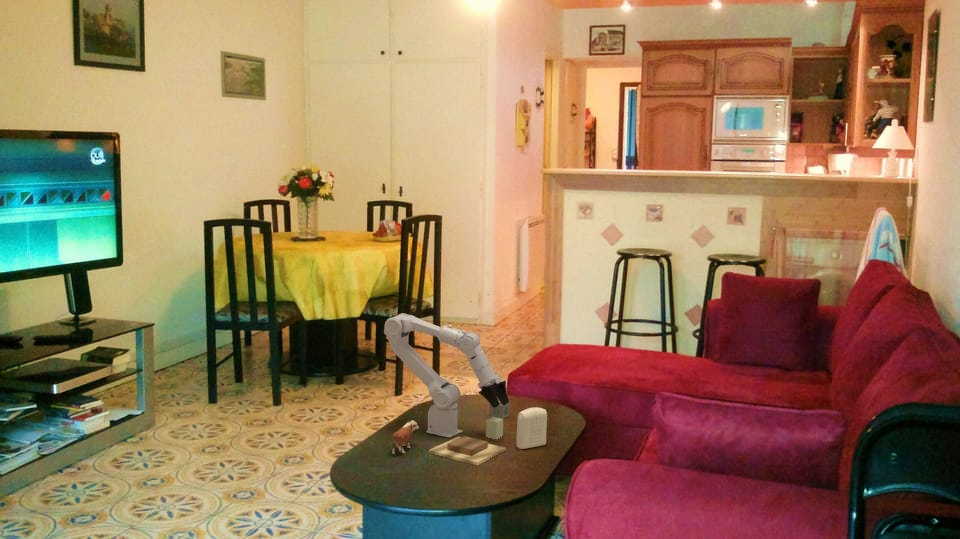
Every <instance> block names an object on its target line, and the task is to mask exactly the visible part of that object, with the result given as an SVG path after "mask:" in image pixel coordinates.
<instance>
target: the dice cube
mask: <svg viewBox="0 0 960 539" xmlns="http://www.w3.org/2000/svg"><path fill="white" fill-rule="evenodd" d="M498 401H499V406H497V407H495V408H493V407H492V405H491V404H490V403H489V404H490V408H489V410H490V411H489V412H490V413H489V416H490V417H489V418H492V417H495V418H500V419H503V420H504V418H505V419H507V418H509V417H511V414H510V413H511V402H509V403H507V404H506V405H504V406H503V405H502V403H501V402H500V400H499V399H498ZM506 417H507V418H506Z"/></svg>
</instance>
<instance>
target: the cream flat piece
mask: <svg viewBox="0 0 960 539" xmlns="http://www.w3.org/2000/svg"><path fill="white" fill-rule="evenodd" d="M504 451H505V452H506V451H507V447H504V446H500V445H495V444H491V443H489V441H487V440H482V439H479V438H475V437H474V438H473V437H469V436H466V435H463V436H457V437H454V438H452V439H450V440H447V441H446V442H443V443H442V444H439V445H437V446H434V447H432V448H430V449H429V450H428V454H430V453H431V455H434V454H435V456H438V455H439V457H442V456H443V458H446V457H447V459H451V460H453V461H458V462H462V463H465V464H470V465H474V466H479V465H482V464H483V463H485V462H487V461H489V460H491V459H493V458H494V456H495V457H497V456H499V455H500V454H499V453H501V454H503V453H505V452H504ZM502 452H503V453H502ZM498 454H499V455H498ZM496 455H497V456H496ZM492 457H493V458H492ZM490 458H491V459H490Z"/></svg>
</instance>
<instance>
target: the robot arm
mask: <svg viewBox="0 0 960 539" xmlns="http://www.w3.org/2000/svg"><path fill="white" fill-rule="evenodd" d="M414 331H416V332H419V333H422V334H426V335H429V336H432V337H435V338H437V339H438V342H440V343H442V344H445V345H448V346H450V347H454V348H457V349H458V350H459V351H460V352H461V353H463V354H464V355H465V356H466V359H467V361H468V363H469V365H470V367H471V368H472V370H473V372H474V374H475V376H476V378H477V380H478V382H479V383H477V386H478V388H479V389H480V391H478V394H479V395H481V397H484V399H485V400H486V401H487V402H488V403H489V404H491V405H492V407H493V408H495V407H497V406H499V401H500V402H501V403H502V405H503V406H504V405H506V404H507V403H510V401H509V396H508V392H507V381H506V380H503V379H502V377H501V375H500V374H496V373H495V370H494V369H493V366H492V365H491V363H490V362H489V360H488V358H487V355H486V354H485V351H484V350H483V347H482V346H481V338H480V336H479V335H478V334H477V333H476V332H474V331H469V332H467V331H466V330H465V329H463V330H460V329H459V328H455V327H453V324H448V325H443V326H441V327H440V326H438V325H435V324H433V323H431V322H428V321H426V320H424V319H421V318H418V317H416V316H414V315H412V314H407V313H404V312H402V313H399V314H398V315H395V316H393V317H389V318H387V319H386V321H385V323H384V329H383V333H384V335H385V336H387V340H388V343H389V346H390V349H391V350H392V352H393V353H394V354H395V355H396V356H397V357H398V358H399V360H401V362H402V363H403V364H405V365H406V367H407V368H409V370H411V372H412V373H413V374H414V375H415V376H416V377H417V378H418V379H419V380H420V381H421V382H422V383H423V384H424V386H426V387H427V388H428V395H429V396H430V397H431V399H432V400H433V404H432V405H431V406H430V407H429V409H428V413H427V430H426V432H425V433H427V434H432V435H436V436H439V437H440V436H441V437H443V438H452V437H455V436H456V435H459V434H462V433H463V430H462V429H458V412H459V411H458V410H459V409H458V407H459V406H458V401H459V399H460V397H461V390H460V387H458V386H457V385H456V384H455V383H452V382H450V381H449V380H448V379H446V378H444V377H441V376H440V375H439V374H438V373H437V372H436V371H435V370H434V368H432V367H431V365H430V364H428V363H427V362H426V361H425V360H424V358H423V357H421V355H420V354H419V353H418V352H417V351H416V350H415V348H413V347H412V346H411V345H410V344H409V337H410V336H409V335H410V333H411V332H414ZM498 400H499V401H498Z"/></svg>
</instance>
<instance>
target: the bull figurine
mask: <svg viewBox="0 0 960 539" xmlns="http://www.w3.org/2000/svg"><path fill="white" fill-rule="evenodd" d="M419 429H420V427H419V425H418V423H417V422H416V421H415V420H413V419H412V420H407V422H406V423H405V424H404V425H403V426H401V428H400V429H398V430H397V431H395V432H394V433H393V434H392V437H391V440H392V447H391V448H392V452H391V453H392V455H396V452H395V451H396V447H397V448H398V450H399V452H401V454H406V451H405V449H404V447H403V446H406V448H407V449H408V448H411V446H410V445H411V441H412V438H413V434H414V433H413V432H414V431H415V430H419ZM406 443H407V445H406Z"/></svg>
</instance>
